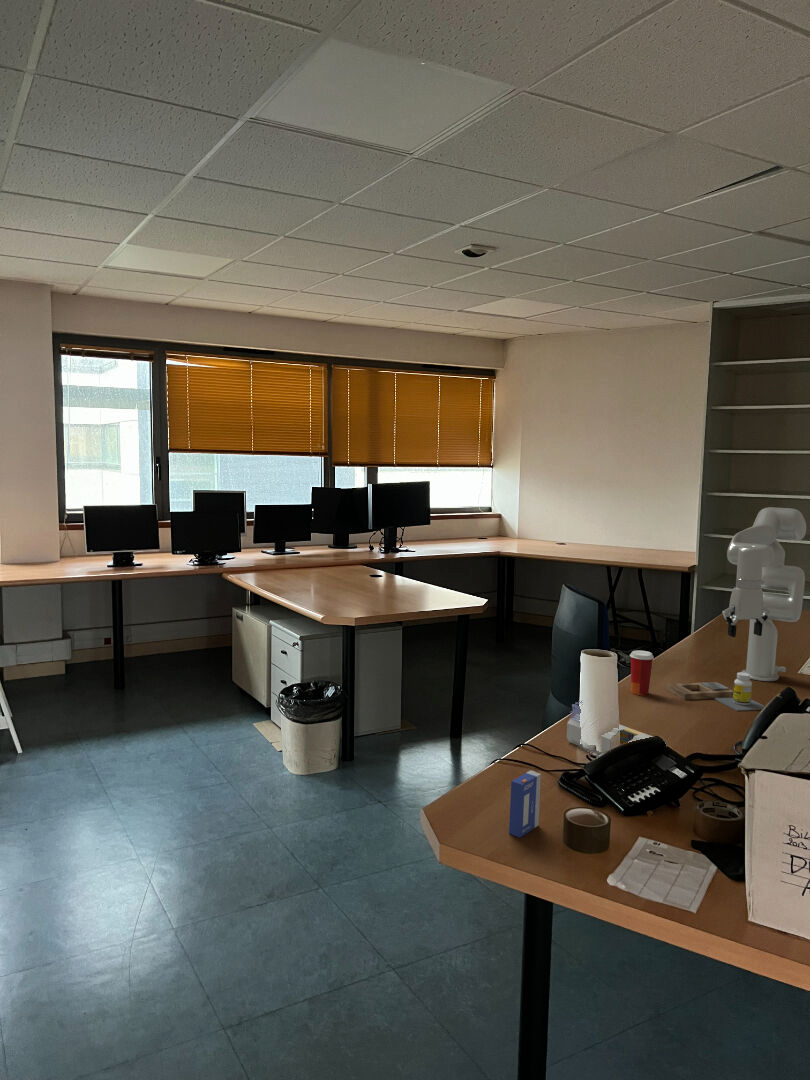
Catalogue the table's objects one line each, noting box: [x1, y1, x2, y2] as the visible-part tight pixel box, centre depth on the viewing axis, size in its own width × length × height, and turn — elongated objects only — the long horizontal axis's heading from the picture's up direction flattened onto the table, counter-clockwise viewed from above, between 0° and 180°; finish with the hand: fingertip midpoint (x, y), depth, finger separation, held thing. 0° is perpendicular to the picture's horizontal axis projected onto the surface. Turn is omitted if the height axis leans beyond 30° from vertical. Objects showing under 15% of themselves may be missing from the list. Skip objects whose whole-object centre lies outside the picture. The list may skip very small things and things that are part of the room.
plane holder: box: [666, 681, 734, 701], centre depth 267 cm, size 19×11×3 cm, turn 103°
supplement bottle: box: [733, 671, 753, 705], centre depth 256 cm, size 5×5×10 cm
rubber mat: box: [713, 697, 766, 712], centre depth 256 cm, size 12×12×1 cm
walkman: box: [508, 770, 542, 839], centre depth 166 cm, size 8×3×12 cm, turn 140°
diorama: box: [566, 700, 668, 756], centre depth 211 cm, size 25×10×13 cm, turn 37°
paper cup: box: [629, 650, 654, 696], centre depth 265 cm, size 8×8×14 cm
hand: (744, 635), depth 256 cm, fingers open, 9 cm apart
